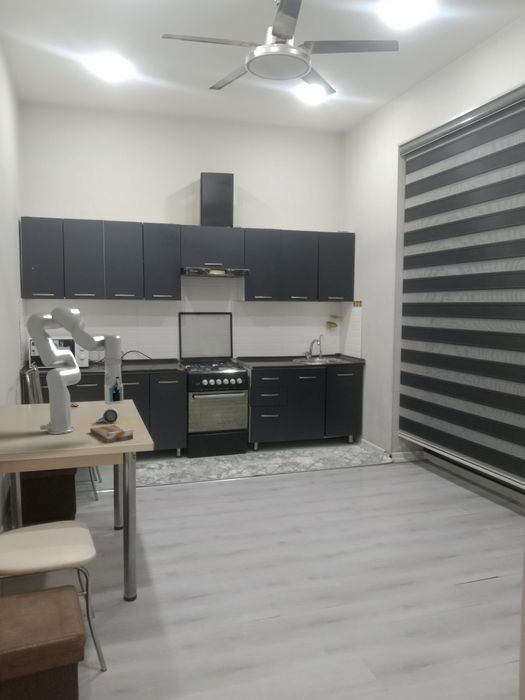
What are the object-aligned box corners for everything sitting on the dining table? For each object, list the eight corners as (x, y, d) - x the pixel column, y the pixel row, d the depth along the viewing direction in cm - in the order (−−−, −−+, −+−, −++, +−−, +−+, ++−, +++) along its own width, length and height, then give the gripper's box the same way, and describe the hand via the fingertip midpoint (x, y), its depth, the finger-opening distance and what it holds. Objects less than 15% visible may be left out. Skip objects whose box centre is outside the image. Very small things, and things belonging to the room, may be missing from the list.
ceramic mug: (119, 419, 279) (118, 405, 278) (118, 423, 271) (117, 408, 270) (98, 421, 277) (98, 407, 276) (97, 424, 269) (96, 410, 268)
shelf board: (107, 443, 231) (107, 433, 231) (90, 432, 251) (90, 423, 250) (133, 439, 239) (132, 429, 238) (114, 429, 258) (114, 420, 258)
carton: (104, 403, 239) (104, 384, 238) (119, 401, 243) (118, 382, 243) (108, 404, 235) (108, 385, 234) (123, 403, 239) (122, 384, 239)
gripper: (98, 360, 242) (100, 398, 244) (111, 363, 229) (112, 403, 230) (114, 359, 247) (115, 396, 248) (127, 362, 233) (128, 402, 235)
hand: (114, 399), depth 239 cm, fingers closed on carton, 5 cm apart
